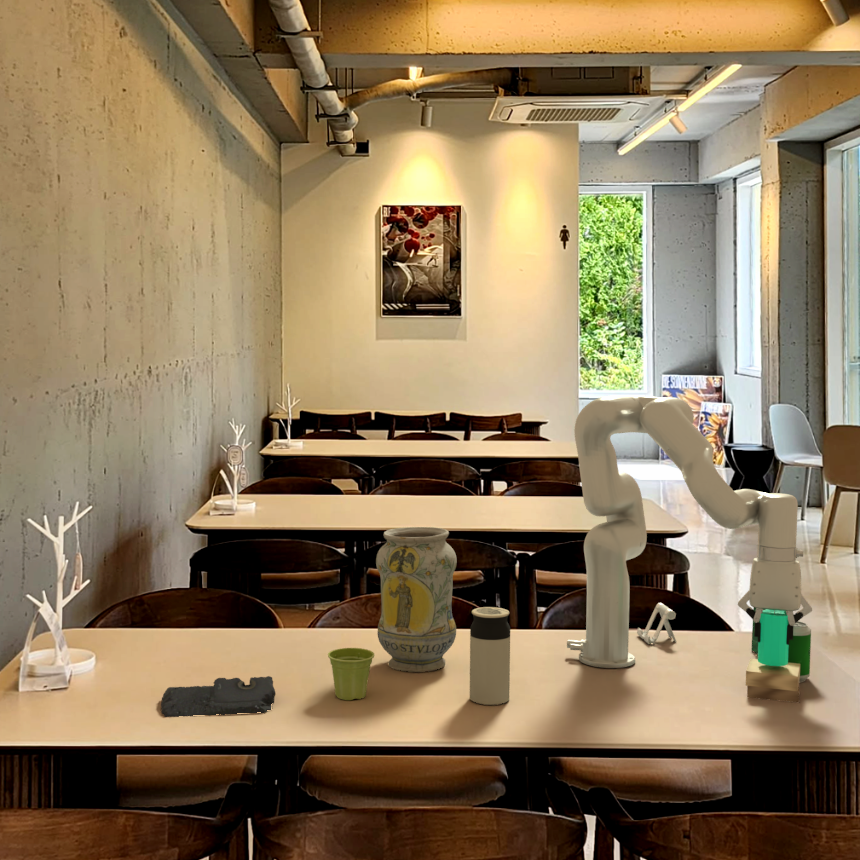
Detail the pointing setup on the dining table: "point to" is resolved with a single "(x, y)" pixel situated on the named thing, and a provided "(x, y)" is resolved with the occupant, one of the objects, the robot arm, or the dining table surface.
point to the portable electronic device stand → (665, 615)
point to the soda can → (800, 649)
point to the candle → (773, 638)
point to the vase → (416, 597)
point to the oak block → (773, 675)
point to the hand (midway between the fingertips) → (773, 640)
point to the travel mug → (490, 656)
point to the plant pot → (350, 672)
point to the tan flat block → (772, 694)
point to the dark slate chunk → (220, 698)
